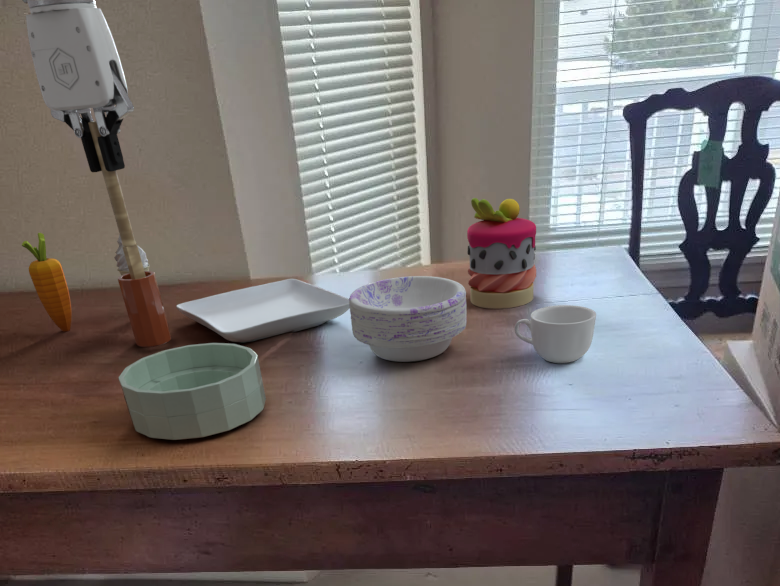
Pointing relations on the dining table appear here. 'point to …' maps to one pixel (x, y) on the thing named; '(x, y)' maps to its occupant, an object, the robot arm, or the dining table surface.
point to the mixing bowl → (193, 390)
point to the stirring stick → (119, 212)
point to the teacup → (560, 332)
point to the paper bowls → (408, 316)
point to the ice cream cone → (122, 260)
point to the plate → (266, 310)
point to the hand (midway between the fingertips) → (108, 169)
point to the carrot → (50, 285)
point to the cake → (501, 256)
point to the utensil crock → (145, 309)
